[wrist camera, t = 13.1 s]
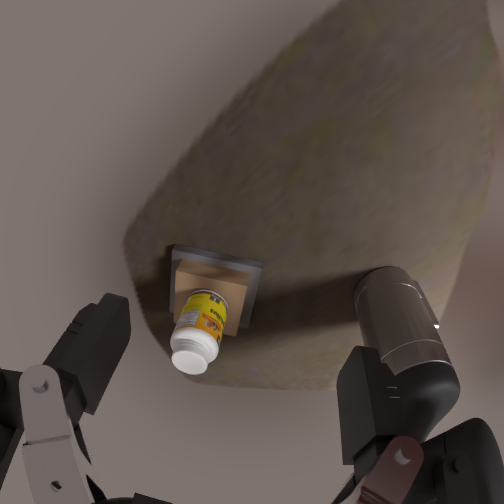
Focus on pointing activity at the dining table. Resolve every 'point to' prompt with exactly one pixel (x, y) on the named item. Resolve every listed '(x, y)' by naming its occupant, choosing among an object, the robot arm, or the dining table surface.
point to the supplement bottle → (198, 331)
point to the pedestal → (215, 282)
